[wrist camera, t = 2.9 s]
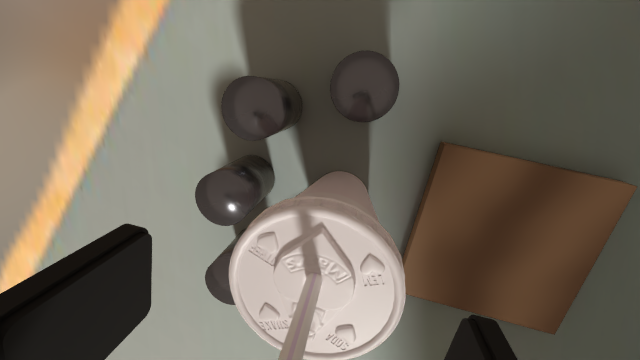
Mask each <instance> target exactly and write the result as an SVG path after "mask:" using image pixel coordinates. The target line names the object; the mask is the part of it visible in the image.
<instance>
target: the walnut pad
mask: <svg viewBox="0 0 640 360" xmlns="http://www.w3.org/2000/svg"><path fill="white" fill-rule="evenodd" d="M636 188H637V186H634V185H631V184H628V183H625V182H623V181H618V180H614V179H609V178H605V177H600V176H596V175H591V174H587V173H582V172H577V171H573V170H568V169H564V168H559V167H555V166H550V165H546V164H541V163H537V162H532V161H528V160H523V159H518V158H514V157H509V156H505V155H500V154H496V153H491V152H487V151H482V150H478V149H473V148H469V147H464V146H459V145H455V144H450V143H446V142H441V143H440V146H439V149H438V152H437V155H436V158H435V161H434V164H433V167H432V170H431V173H430V176H429V179H428V182H427V185H426V189H425V192H424V195H423V198H422V201H421V204H420V207H419V210H418V213H417V216H416V219H415V222H414V225H413V228H412V231H411V234H410V237H409V240H408V243H407V246H406V249H405V253H404V256H403V259H402V263H403V268H404V274H405V294H407V295H411V296H414V297H418V298H422V299H425V300H429V301H433V302H436V303H440V304H444V305H447V306H451V307H455V308H458V309H462V310H466V311H469V312H473V313H477V314H480V315H484V316H488V317H491V318H495V319H499V320H502V321H506V322H510V323H514V324H517V325H521V326H525V327H528V328H532V329H536V330H539V331H543V332H547V333H550V334H554V335H555V333H556V331H557V329H558V327H559V326H560V324H561V322H562V320H563V319H564V317H565V315H566V313H567V311H568V310H569V308H570V306H571V304H572V302H573V301H574V299H575V297H576V295H577V294H578V292H579V290H580V288H581V286H582V285H583V283H584V281H585V279H586V277H587V276H588V274H589V272H590V270H591V269H592V267H593V265H594V263H595V261H596V260H597V258H598V256H599V254H600V252H601V251H602V249H603V247H604V245H605V244H606V242H607V240H608V238H609V236H610V235H611V233H612V231H613V229H614V227H615V226H616V224H617V222H618V220H619V219H620V217H621V215H622V213H623V211H624V210H625V208H626V206H627V204H628V202H629V201H630V199H631V197H632V195H633V194H634V192H635V190H636Z"/></svg>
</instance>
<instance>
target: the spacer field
mask: <svg viewBox="0 0 640 360" xmlns="http://www.w3.org/2000/svg"><path fill="white" fill-rule="evenodd" d="M330 91H331V97H332V100H333V103H334V105H335V107H336V108H337V109H338V111H339V112H340V113H341V114H342V115H344V116H345V117H347V118H348V119H351V120H353V121H357V122H370V121H374V120H376V119H378V118H380V117H382V116H383V115H385V114H386V113H387V112H388V111H389V110H390V109H391V108H392V106H393V105H394V103H395V101H396V99H397V96H398V92H399V78H398V74H397V71H396V69H395V67H394V66H393V64H392V63H391V62H390V61H389V60H388V59H387V58H386V57H385V56H383V55H381V54H379V53H377V52H373V51H359V52H356V53H353V54H351V55H349V56H347V57H346V58H345V59H343V60H342V61H341V62H340V63H339V65H338V66H337V67H336V69H335V71H334V73H333V76H332V79H331V85H330ZM301 113H302V100H301V97H300V94H299V92H298V91H297V90H296V88H295V87H294V86H292V85H291V84H290V83H288V82H285V81H281V80H275V79H268V78H261V77H255V76H244V77H240V78H238V79H236V80H234V81H233V82H232V83H231V84H230V85H229V86H228V87H227V89H226V90H225V92H224V95H223V98H222V114H223V117H224V120H225V122H226V124H227V126H228V127H229V128H230V130H231V131H232V132H233V133H235V134H236V135H237V136H239V137H241V138H243V139H246V140H253V141H255V140H261V139H264V138H266V137H269V136H271V135H274V134H276V133H278V132H281V131H283V130H286V129H288V128H290V127H292V126H293V125H294V124H295V123H296V122H297V121H298V120H299V118H300V116H301ZM274 181H275V178H274V173H273V170H272V168H271V166H270V165H269V164H268V163H267V162H266V161H265V160H264V159H262V158H260V157H258V156H252V155H250V156H245V157H242V158H240V159H238V160H236V161H234V162H232V163H230V164H228V165H226V166H224V167H222V168H220V169H218V170H216V171H214V172H212V173H210V174H208V175H206V176H204V177H203V178H202V179H201V180H200V181H199V183H198V185H197V187H196V192H195V198H196V203H197V206H198V208H199V210H200V211H201V213H202V214H203V215H204V216H205V217H206V218H207V219H208V220H209V221H211V222H213V223H215V224H218V225H222V226H230V225H234V224H236V223H238V222H239V221H241V220H242V219H243V218H244V217H245V216H246V215H247V214H248V213H249V212H250V211H251V210H252V209H253V208H254V207H255V206H256V205H257V204H258V203H259V202H260V201H261V200H262V199H263V198H264V197H265V196H266V195H267V194H268V193H269V192H270V191H271V190H272V188H273V186H274ZM246 230H247V228H246V229H244V230H243V231H242V232H241V233H240V234H239V235H238V236H237V237H236V238H235V239H234V240H233V241H232V243H231V244H230V245H229V246H228V247H227V248H226V249H225V250H224V251H223V252H222V253H221V254H220V255H219V256H218V257H217V259H216V260H215V261H214V262H213V263H212V264H211V265H210V266H209V267H208V269H207V271H206V275H205V281H206V285H207V288H208V289H209V291H210V292H211V294H212V295H213V296H214V297H215V298H217V299H218V300H220V301H221V302H223V303H226V304H230V305H236V304H235V302H234V300H233V297H232V293H231V289H230V284H229V265H230V260H231V256H232V253H233V250H234V248H235V246H236V244H237V242H238V240H239V239H240V237H241V236H242V234H243V233H244V232H245V231H246Z"/></svg>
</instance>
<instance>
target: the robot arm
mask: <svg viewBox="0 0 640 360" xmlns="http://www.w3.org/2000/svg"><path fill="white" fill-rule="evenodd" d="M151 272H152V237H151V235H149V234H148V231H147V229H145V228H143V227H139V226H135V225H131V224H124V225H121V226H120V227H118V228H116V229H114V230H113V231H111V232H109V233H107V234H106V235H104V236H102V237H100V238H98V239H97V240H95V241H93V242H91V243H90V244H88V245H86V246H84V247H82V248H81V249H79V250H77V251H75V252H74V253H72V254H70V255H68V256H67V257H65V258H63V259H61V260H59V261H58V262H56V263H54V264H52V265H51V266H49V267H47V268H45V269H43V270H42V271H40V272H38V273H36V274H35V275H33V276H31V277H29V278H28V279H26V280H24V281H22V282H20V283H19V284H17V285H15V286H13V287H12V288H10V289H8V290H6V291H4V292H3V293H1V294H0V360H105V359H106V358H107V357H108V355H109V354H110V353H111V352H112V351H113V350H114V349H115V348H116V347H117V346H118V345H119V344H120V343H121V342H122V341H123V340H124V339H125V338H126V337H127V336H128V335H129V334H130V333H131V332H132V331H133V330H134V328H135V327H136V326H137V325H138V324H139V323H140V322H141V321H142V320H143V319H144V318H145V317H146V316H147V314H148V312H149V310H150V307H151ZM444 360H517V358H516V356H515V354H514V352H513V351H512V349H511V347H510V345H509V343H508V341H507V340H506V338H505V336H504V334H503V332H502V331H501V329H500V327H499V325H498V324H497V322H496V321H494V320H492V319H488V318H484V317H480V316H476V315H471V316H469V318H468V319H466V318H464V319H462V321H461V323H460V325H459V327H458V330H457V332H456V334H455V336H454V339H453V341H452V343H451V345H450V348H449V350H448V352H447V354H446V357H445V359H444Z"/></svg>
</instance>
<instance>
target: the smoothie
mask: <svg viewBox="0 0 640 360" xmlns="http://www.w3.org/2000/svg"><path fill="white" fill-rule="evenodd" d="M229 284H230V289H231V293H232V297H233V300H234V302H235V304H236V307H237V308H238V310H239V312H240V314H241V315H242V317H243V319H244V320H245V321H246V322H247V324H248V325H249V326H250V327H251V328H252V329H253V330H254V331H255V332H256V333H257V334H258V335H259V336H260V337H261V338H262V339H264V340H265V341H266V342H268V343H269V344H271V345H272V346H274V347H276V348H278V349H280V350H281V353H280V356H279V358H278V360H303V359H308V360H348V359H351V358H355V357H358V356H360V355H363V354H365V353H367V352H369V351H371V350H373V349H374V348H376V347H377V346H379V345H380V344H381V343H383V342H384V341H385V340H386V339H387V338H388V337H389V336H390V334H391V333H392V332H393V331H394V329H395V328H396V326H397V324H398V322H399V320H400V318H401V315H402V313H403V309H404V305H405V296H406V295H405V274H404V268H403V263H402V258H401V255H400V253H399V251H398V249H397V247H396V245H395V243H394V241H393V239H392V237H391V236H390V234H389V233H388V232H387V231H386V230H385V229H384V228H383V227H382V226H381V225H380V224H379V221H378V218H377V216H376V213H375V211H374V208H373V205H372V203H371V200H370V197H369V195H368V192H367V189H366V187H365V185H364V184H363V182H362V181H361V180H360V179H359V178H357V177H356V176H355V175H353V174H351V173H348V172H343V171H335V172H331V173H328V174H326V175H324V176H323V177H321V178H320V179H319V180H317V181H316V182H315V183H313V184H312V185H311V186H309V187H308V188H307V189H305V190H304V191H303V192H301V193H300V194H299V195H297V196H296V197H295V198H292V199H286V200H283V201H281V202H279V203H277V204H275V205H273V206H271V207H269V208H267V209H265V210H264V211H263V212H262V213H261V214H260V215H258V216H257V217H256V218H255V219H254V220H253V221H252V222H251V223H250V224H249V226H248V228H247V230H246V231H245V232H244V233H243V234H242V236H241V237H240V239H239V240H238V242H237V244H236V246H235V248H234V250H233V253H232V256H231V260H230V265H229Z"/></svg>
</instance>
